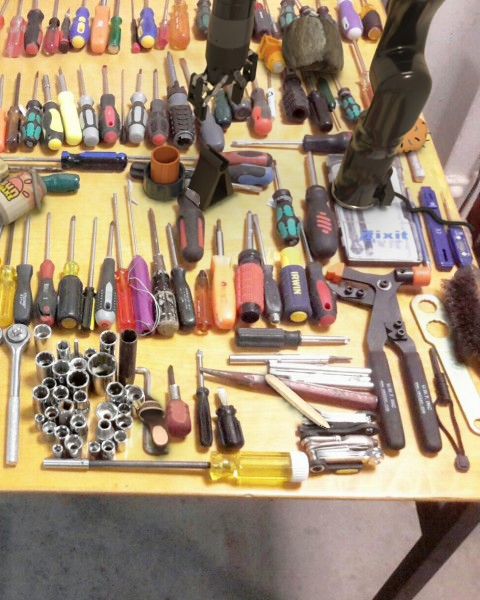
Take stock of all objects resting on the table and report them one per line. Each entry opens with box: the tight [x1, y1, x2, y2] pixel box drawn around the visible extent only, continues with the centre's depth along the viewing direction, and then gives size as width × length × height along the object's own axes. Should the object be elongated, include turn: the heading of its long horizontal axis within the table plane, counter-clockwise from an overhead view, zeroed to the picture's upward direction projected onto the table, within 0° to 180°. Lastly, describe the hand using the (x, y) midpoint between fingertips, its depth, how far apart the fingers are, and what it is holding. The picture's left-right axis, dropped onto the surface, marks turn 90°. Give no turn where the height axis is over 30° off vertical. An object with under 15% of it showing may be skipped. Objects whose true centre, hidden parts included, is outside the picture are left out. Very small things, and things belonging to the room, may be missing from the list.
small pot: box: [150, 144, 181, 184], centre depth 136 cm, size 6×6×9 cm
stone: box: [281, 14, 345, 74], centre depth 155 cm, size 12×15×15 cm
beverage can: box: [0, 167, 48, 226], centre depth 136 cm, size 9×8×12 cm
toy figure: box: [256, 34, 288, 74], centre depth 160 cm, size 5×6×12 cm
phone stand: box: [186, 143, 235, 212], centre depth 133 cm, size 9×6×12 cm, turn 123°
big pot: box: [142, 159, 187, 202], centre depth 138 cm, size 9×9×5 cm
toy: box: [397, 117, 432, 154], centre depth 141 cm, size 12×10×5 cm
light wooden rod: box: [264, 373, 331, 429], centre depth 108 cm, size 2×14×2 cm, turn 39°
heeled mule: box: [136, 393, 170, 453], centre depth 106 cm, size 4×11×4 cm, turn 13°
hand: (218, 110), depth 122 cm, fingers open, 8 cm apart
